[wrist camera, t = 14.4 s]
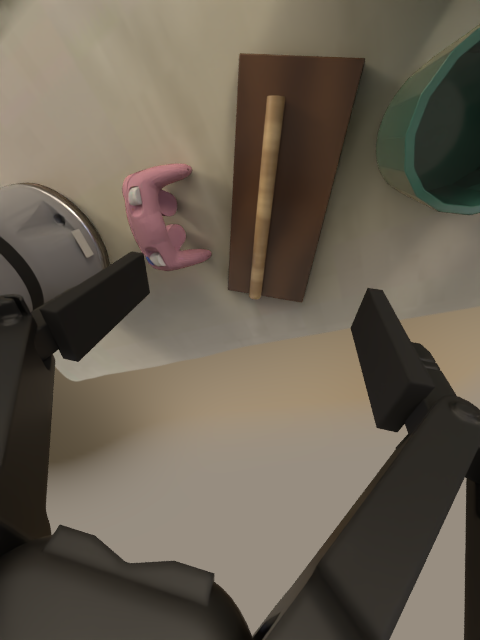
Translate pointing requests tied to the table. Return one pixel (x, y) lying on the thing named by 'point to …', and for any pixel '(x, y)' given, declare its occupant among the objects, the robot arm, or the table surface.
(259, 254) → the stirrer
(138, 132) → the table surface
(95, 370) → the table surface
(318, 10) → the table surface
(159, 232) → the video game controller
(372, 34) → the table surface
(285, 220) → the board
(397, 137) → the coffee cup
